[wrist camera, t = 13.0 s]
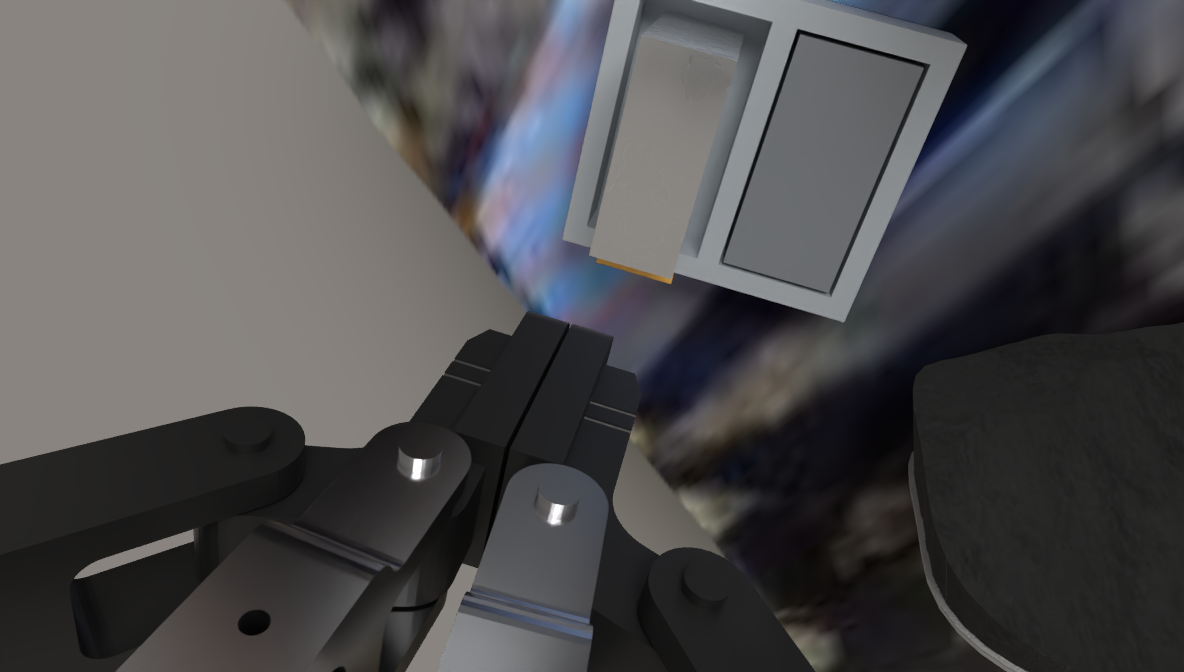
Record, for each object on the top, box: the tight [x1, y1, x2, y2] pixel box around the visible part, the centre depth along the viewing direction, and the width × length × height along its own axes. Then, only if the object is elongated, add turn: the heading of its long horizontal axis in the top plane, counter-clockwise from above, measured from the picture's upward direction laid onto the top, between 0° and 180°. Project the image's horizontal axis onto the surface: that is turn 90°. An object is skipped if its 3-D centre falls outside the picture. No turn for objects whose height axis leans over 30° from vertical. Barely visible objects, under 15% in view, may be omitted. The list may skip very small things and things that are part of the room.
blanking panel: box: [589, 11, 745, 279], centre depth 27 cm, size 7×3×6 cm, turn 168°
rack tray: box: [562, 0, 967, 322], centre depth 29 cm, size 11×11×3 cm
